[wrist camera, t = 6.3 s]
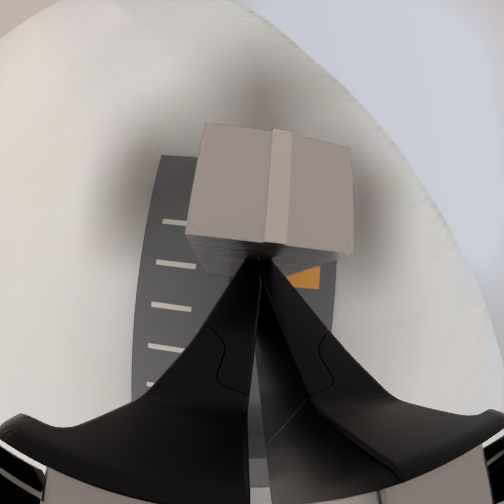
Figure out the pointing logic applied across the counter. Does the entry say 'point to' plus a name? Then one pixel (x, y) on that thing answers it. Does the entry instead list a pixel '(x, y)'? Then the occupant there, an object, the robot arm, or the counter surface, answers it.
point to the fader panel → (196, 297)
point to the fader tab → (269, 200)
